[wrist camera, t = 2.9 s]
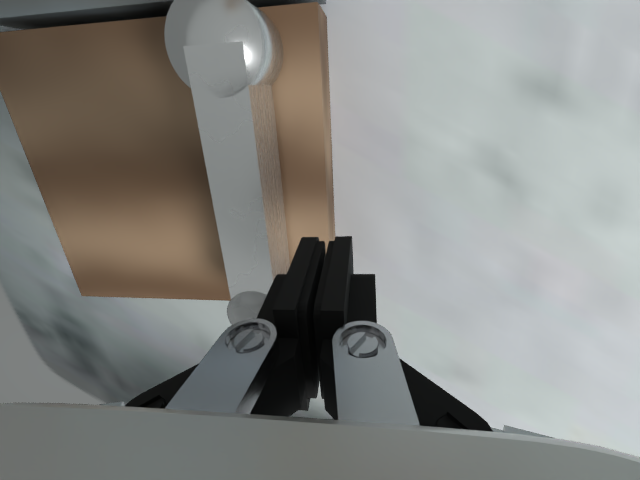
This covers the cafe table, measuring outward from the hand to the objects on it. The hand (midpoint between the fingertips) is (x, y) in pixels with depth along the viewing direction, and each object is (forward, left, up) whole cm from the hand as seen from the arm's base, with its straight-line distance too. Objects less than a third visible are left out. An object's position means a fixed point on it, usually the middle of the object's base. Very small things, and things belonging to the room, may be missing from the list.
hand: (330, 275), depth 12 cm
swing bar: (+2, +4, -5) cm, 6 cm away
